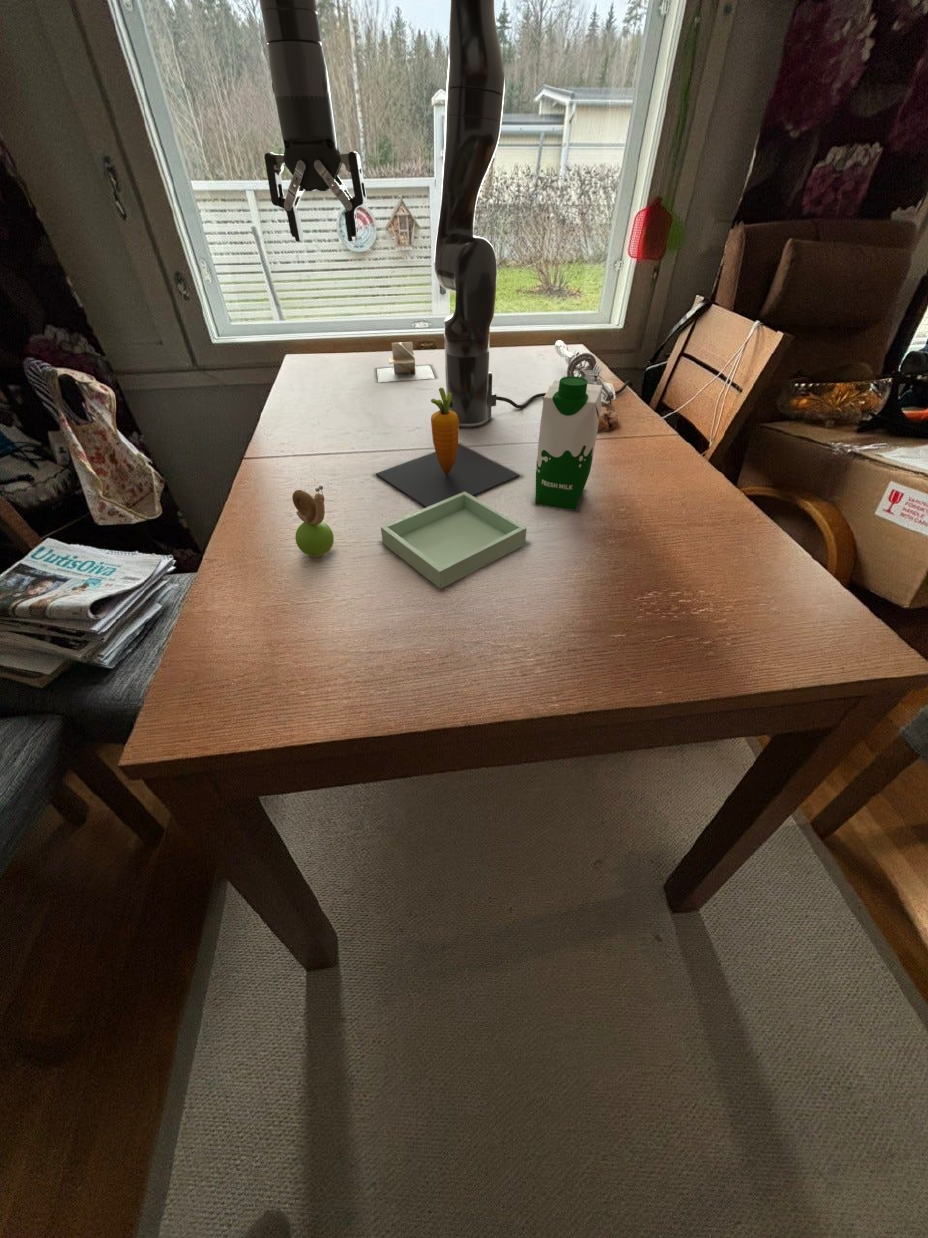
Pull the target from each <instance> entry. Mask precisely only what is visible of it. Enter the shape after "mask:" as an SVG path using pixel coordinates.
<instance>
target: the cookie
mask: <svg viewBox="0 0 928 1238" xmlns="http://www.w3.org/2000/svg"><path fill="white" fill-rule="evenodd" d="M618 417H619V415H618V412H616V411H613V410H609V411H608V409H607V407H605V406H602V405H601V415H600V417H599V424H598V430H597V431H607V432H608V431H610V430H613V429H616V428H617V427H619V418H618Z"/></svg>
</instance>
